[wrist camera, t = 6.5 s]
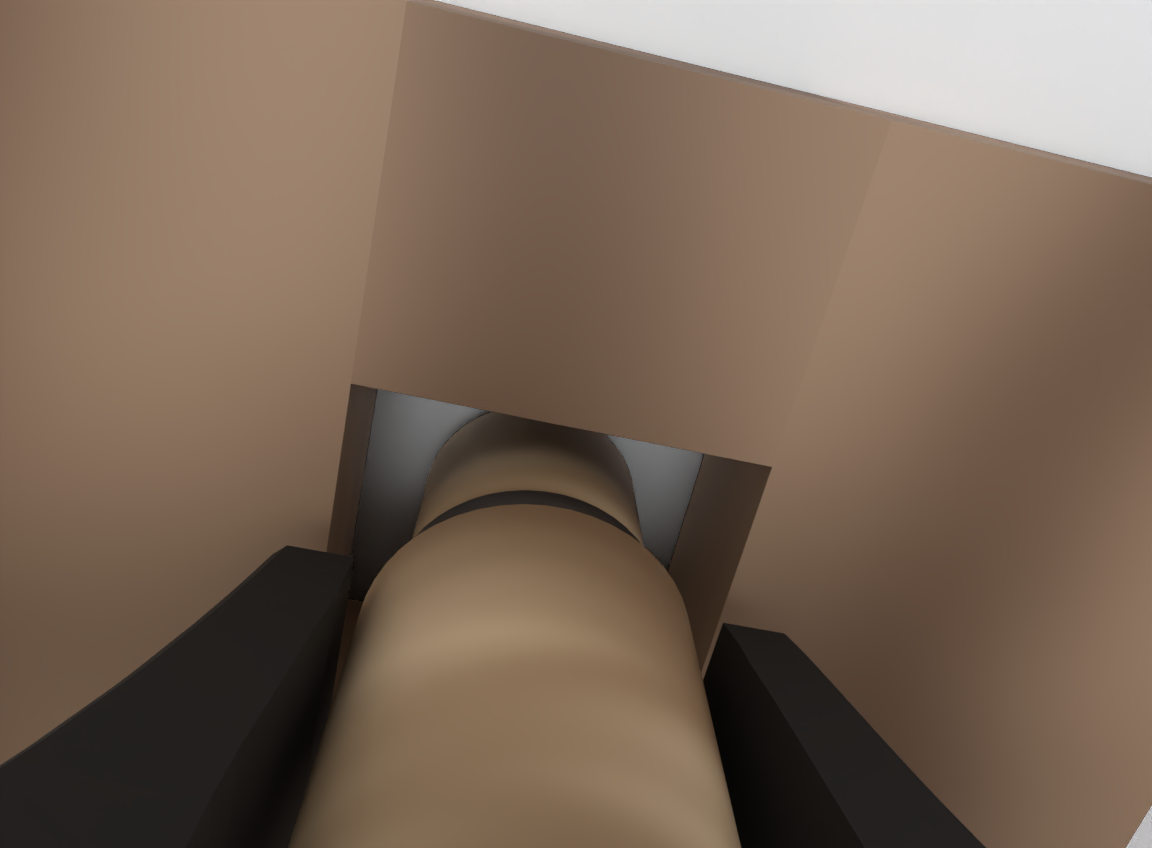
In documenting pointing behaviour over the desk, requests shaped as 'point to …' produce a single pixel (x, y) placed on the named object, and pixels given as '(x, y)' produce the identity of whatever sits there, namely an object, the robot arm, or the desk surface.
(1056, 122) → the desk surface
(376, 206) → the board
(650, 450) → the desk surface
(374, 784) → the peg
